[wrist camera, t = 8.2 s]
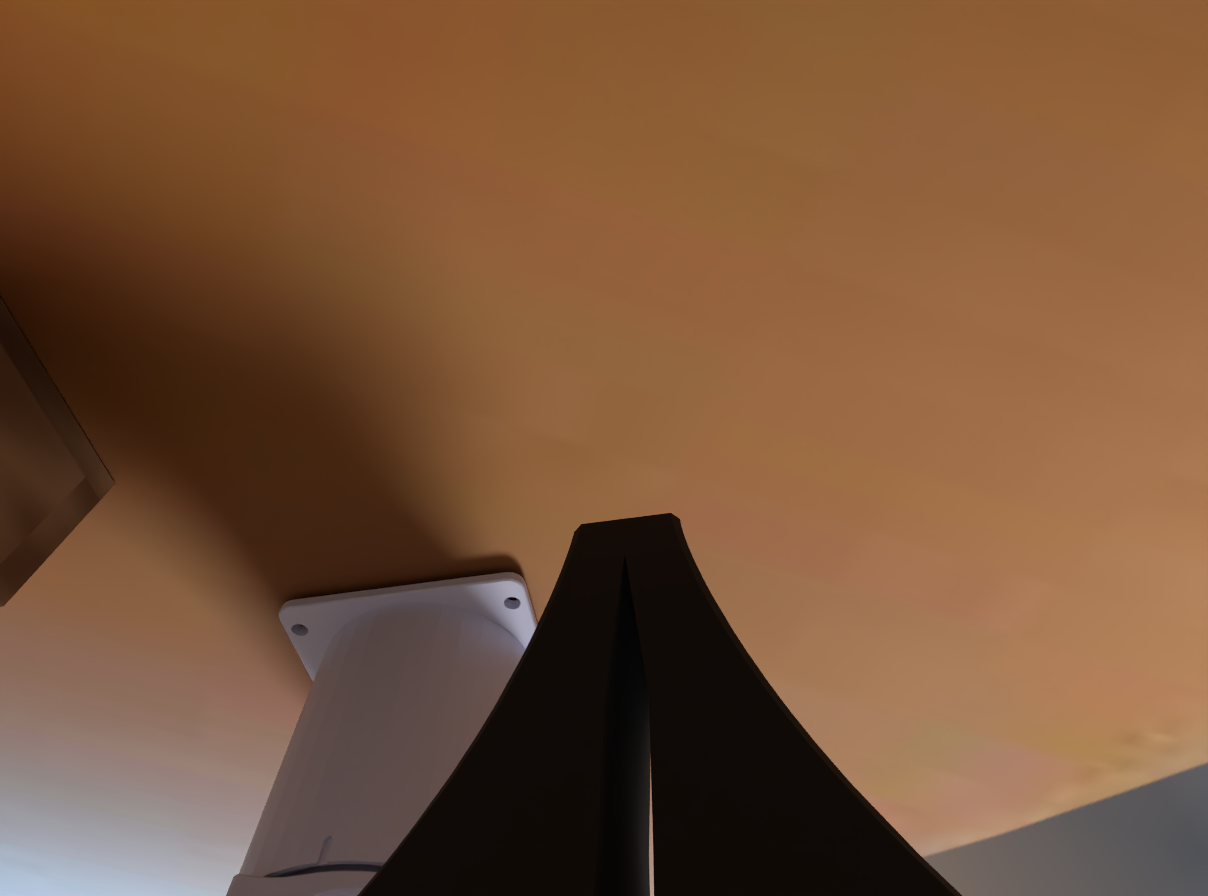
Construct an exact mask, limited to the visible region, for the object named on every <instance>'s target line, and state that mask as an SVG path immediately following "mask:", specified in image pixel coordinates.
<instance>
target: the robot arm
mask: <svg viewBox="0 0 1208 896" xmlns="http://www.w3.org/2000/svg"><path fill="white" fill-rule="evenodd" d="M509 597H515V598H517V599H518V600H509V599H507V598H509ZM278 616H279V620H280V622H281V623H282V625H283V627H284V629H285V631H286V633H287V635H288V637H289V638H290V640H291V642H292V644H293V646H294V648H295V650H296V651H297V653H298V655H299V657H300V659H301V661H302V663H303V665H304V666H305V668H306V670H307V672H308V674H309V676H310V678H311V679H312V681H313V684H312V686H311V689H310V691H309V694H308V697H307V699H306V702H305V704H304V707H303V710H302V712H301V715H300V717H299V720H298V723H297V725H296V728H295V730H294V733H293V735H292V738H291V741H290V743H289V746H288V748H287V751H286V754H285V756H284V759H283V761H282V764H281V766H280V769H279V772H278V774H277V777H276V779H275V782H274V785H273V787H272V790H271V792H270V795H269V798H268V800H267V803H266V805H265V808H264V810H263V813H262V816H261V818H260V821H259V823H258V826H257V829H256V831H255V834H254V836H253V839H252V842H251V844H250V847H249V849H248V852H247V854H246V857H245V860H244V862H243V865H242V867H241V870H240V873H239V874H238V875H235V876H234V877H233V880H232V882H231V885H230V887H229V890H228V892H227V895H226V896H650V885H649V813H650V752H651V781H652V815H653V853H654V896H962V895H961V894H960V893H959V892H958V891H957V890H956V889H954V887H953V886H951V885H950V884H949V883H948V882H947V881H946V880H945V879H944V878H943V877H942V876H941V875H940V874H939V873H938V872H937V871H936V870H935V869H934V868H932V866H930V865H929V864H928V863H927V862H926V861H925V860H924V859H923V858H922V857H921V856H920V855H919V854H918V853H917V852H916V851H915V850H914V849H913V848H912V847H911V846H910V845H909V843H908V842H907V841H906V840H905V839H904V838H903V837H902V836H901V835H900V834H899V833H898V832H897V831H896V830H895V829H894V828H893V827H892V826H891V825H890V824H889V823H888V822H887V821H886V820H885V818H884V817H883V816H882V815H881V814H880V813H879V812H878V811H877V810H876V809H875V808H874V807H873V806H872V805H871V804H870V803H869V802H868V801H867V800H866V799H865V798H864V797H863V796H862V794H861V793H860V792H859V791H858V790H857V789H856V788H855V787H854V786H853V785H852V784H851V783H850V782H849V781H848V780H847V778H846V777H845V776H844V775H843V774H842V773H841V772H840V770H839V769H838V768H837V767H836V766H835V765H834V763H833V762H832V761H831V760H830V759H829V758H828V757H827V755H826V754H825V753H824V752H823V751H822V750H821V748H820V747H819V746H818V745H817V744H816V743H815V741H814V740H813V739H812V738H811V736H810V735H809V734H808V733H807V732H806V730H805V729H804V728H803V727H802V725H801V724H800V723H799V722H798V720H797V719H796V718H795V717H794V716H793V714H792V713H791V712H790V710H789V709H788V708H787V707H786V705H785V704H784V703H783V701H782V700H781V699H780V697H779V696H778V695H777V693H776V692H775V691H774V689H773V688H772V687H771V685H770V684H769V683H768V681H767V680H766V678H765V677H764V676H763V674H762V673H761V671H760V670H759V668H758V667H757V665H756V664H755V663H754V661H753V660H752V658H751V657H750V655H749V654H748V653H747V651H746V650H745V648H744V647H743V645H742V643H741V642H740V640H739V639H738V637H737V636H736V634H735V633H734V631H733V630H732V628H731V626H730V625H729V623H728V621H727V619H726V618H725V616H724V614H723V613H722V611H721V609H720V608H719V606H718V604H717V603H716V601H715V599H714V598H713V596H712V594H711V592H710V591H709V589H708V587H707V585H706V583H705V581H704V579H703V577H702V575H701V573H700V571H699V569H698V567H697V565H696V563H695V561H694V559H693V557H692V554H691V552H690V550H689V547H688V545H687V542H686V540H685V537H684V534H683V530H682V527H681V523H680V519H679V518H678V517H676V516H675V515H673V514H672V513H667V514H659V515H651V516H643V517H635V518H627V519H619V520H611V521H603V522H595V523H587V524H581V525H580V526H579V527H578V529H577V530H576V531H575V532H574V535H573V539H572V542H571V545H570V548H569V551H568V554H567V557H566V560H565V562H564V565H563V568H562V570H561V573H560V575H559V578H558V580H557V582H556V585H555V587H554V590H553V592H552V594H551V597H550V599H549V601H548V603H547V606H546V608H545V610H544V612H543V614H542V616H541V618H540V620H539V623H538V625H537V621H536V618H535V614H534V611H533V607H532V604H531V600H530V597H529V593H528V590H527V586H526V583H525V581H524V579H523V577H521V576H520V575H519V574H516V573H513V572H503V573H496V574H488V575H480V576H472V577H465V578H457V579H449V580H441V581H434V582H426V583H418V584H411V585H403V586H395V587H387V588H380V589H372V590H364V591H356V592H349V593H341V594H333V595H325V596H318V597H310V598H302V599H295V600H290V601H286V602H285V603H284V604H283V605H282V607H281V609H280V612H279V615H278ZM298 624H301V625H304V626H305V627H302V626H300V625H298Z"/></svg>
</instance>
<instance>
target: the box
mask: <svg viewBox="0 0 1208 896" xmlns="http://www.w3.org/2000/svg"><path fill="white" fill-rule="evenodd" d="M114 484H115V483H114V481H113V480H112V478H111V476H110V475H109V473H108V472H107V470H106V468H105V467H104V465H103V463H102V462H101V460H100V459H99V457H98V455H97V454H96V452H95V450H94V449H93V447H92V446H91V444H90V442H89V441H88V439H87V437H86V436H85V434H84V433H83V431H82V429H81V428H80V426H79V424H78V423H77V421H76V420H75V418H74V416H73V415H72V413H71V411H70V410H69V408H68V407H67V405H66V403H65V402H64V400H63V398H62V397H61V395H60V393H59V392H58V390H57V389H56V387H55V385H54V384H53V382H52V380H51V379H50V377H49V376H48V374H47V372H46V371H45V369H44V367H43V366H42V364H41V363H40V361H39V359H38V358H37V356H36V354H35V353H34V351H33V350H32V348H31V346H30V345H29V343H28V341H27V340H26V338H25V337H24V335H23V333H22V332H21V330H20V328H19V327H18V325H17V324H16V322H15V320H14V319H13V317H12V315H11V314H10V312H9V311H8V309H7V307H6V306H5V304H4V302H3V301H2V299H1V298H0V607H2V606H4V605H5V604H6V603H7V602H8V601H9V600H10V599H11V598H12V597H13V595H14V594H15V593H16V592H17V591H18V590H19V589H20V588H21V587H22V586H23V584H24V583H25V582H26V581H27V580H28V579H29V578H30V577H31V576H32V575H33V573H34V572H35V571H36V570H37V569H38V568H39V567H40V566H41V565H42V564H43V562H44V561H45V560H46V559H47V558H48V557H49V556H50V555H51V554H52V553H53V551H54V550H55V549H56V548H57V547H58V546H59V545H60V544H61V543H62V542H63V540H64V539H65V538H66V537H67V536H68V535H69V534H70V533H71V532H72V531H73V529H74V528H75V527H76V526H77V525H78V524H79V523H80V522H81V521H82V520H83V518H84V517H85V516H86V515H87V514H88V513H89V512H90V511H91V510H92V509H93V507H94V506H95V505H96V504H97V503H98V502H99V501H100V500H101V499H102V498H103V496H104V495H105V494H106V493H107V492H108V491H109V490H110V489H111V488H112V487H113V486H114Z"/></svg>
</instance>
